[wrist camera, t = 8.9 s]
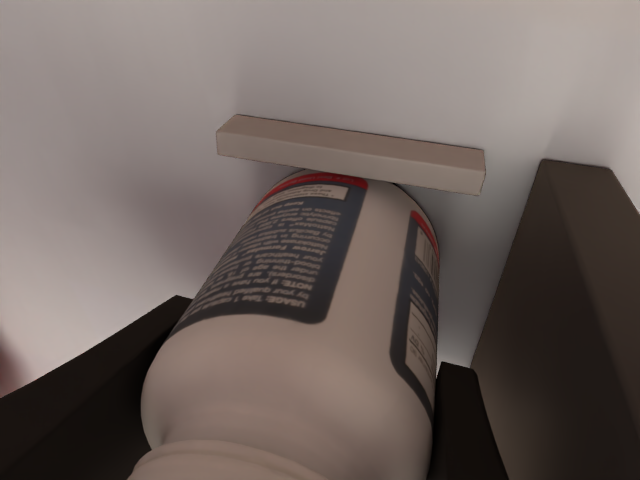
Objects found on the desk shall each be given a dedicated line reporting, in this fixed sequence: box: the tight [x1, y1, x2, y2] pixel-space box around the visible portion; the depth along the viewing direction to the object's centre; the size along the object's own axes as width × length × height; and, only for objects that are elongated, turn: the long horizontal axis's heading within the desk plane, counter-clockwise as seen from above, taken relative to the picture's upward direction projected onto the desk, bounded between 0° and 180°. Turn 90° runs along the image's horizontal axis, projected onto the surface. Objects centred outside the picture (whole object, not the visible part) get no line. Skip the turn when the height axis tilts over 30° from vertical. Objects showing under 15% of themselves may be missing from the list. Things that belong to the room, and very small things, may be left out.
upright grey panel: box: [216, 115, 640, 480], centre depth 9 cm, size 9×7×10 cm
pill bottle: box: [127, 169, 439, 480], centre depth 10 cm, size 5×5×9 cm
